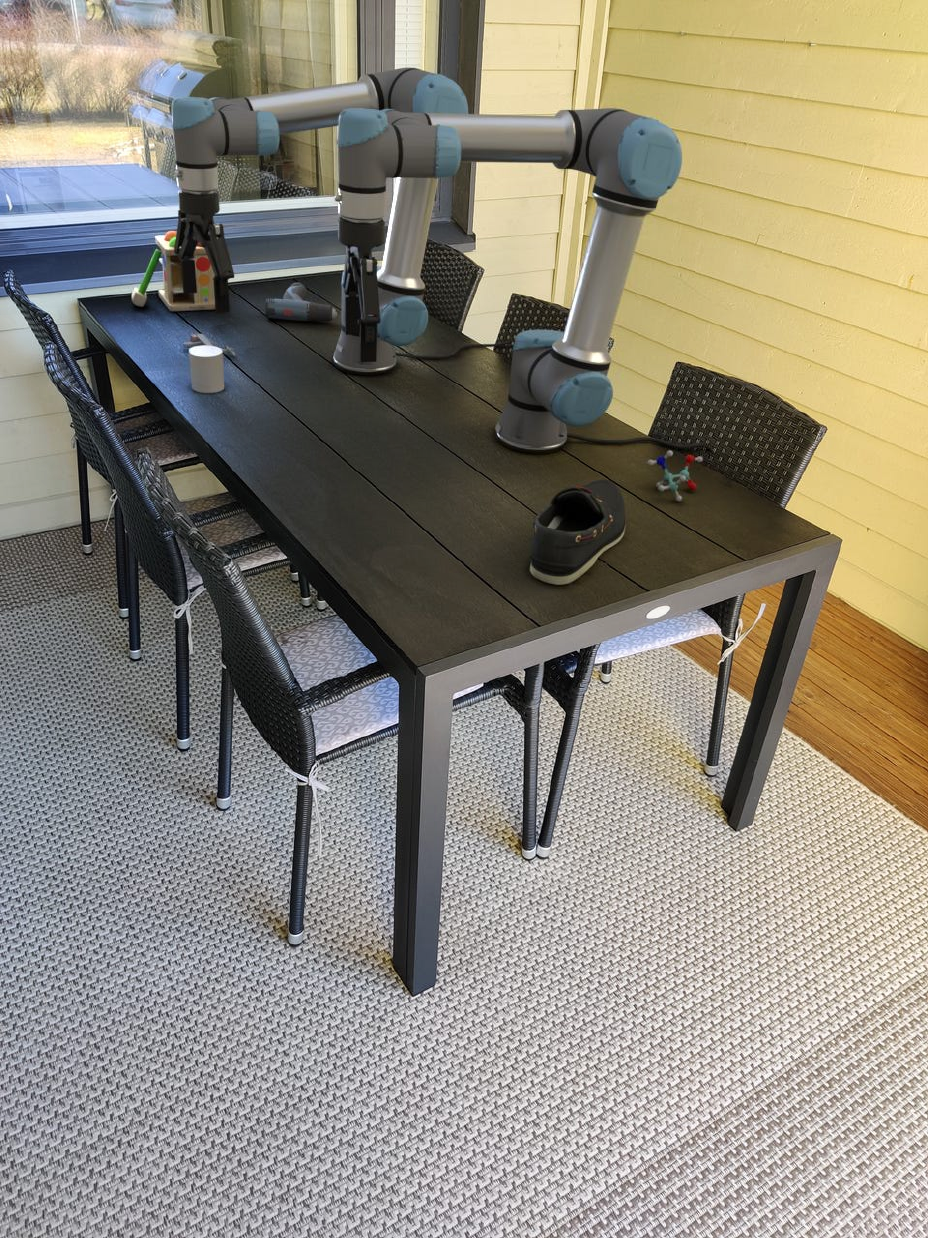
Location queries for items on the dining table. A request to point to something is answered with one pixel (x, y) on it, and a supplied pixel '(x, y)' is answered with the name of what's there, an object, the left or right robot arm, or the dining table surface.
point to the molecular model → (669, 477)
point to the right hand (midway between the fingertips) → (360, 347)
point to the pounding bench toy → (178, 278)
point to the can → (206, 369)
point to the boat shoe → (576, 531)
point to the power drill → (298, 307)
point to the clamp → (205, 343)
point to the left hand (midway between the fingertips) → (206, 302)
